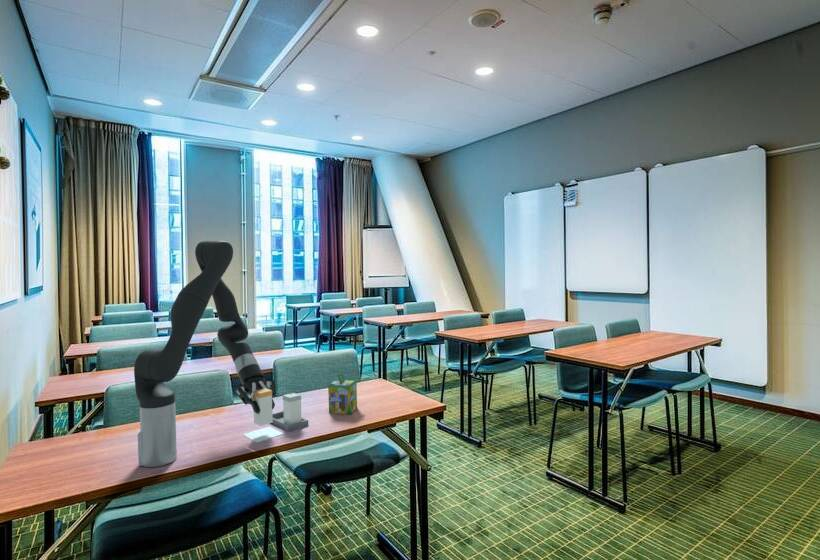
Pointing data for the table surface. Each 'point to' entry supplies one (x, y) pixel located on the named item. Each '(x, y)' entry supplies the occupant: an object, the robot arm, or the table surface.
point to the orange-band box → (263, 406)
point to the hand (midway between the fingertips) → (265, 410)
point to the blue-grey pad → (263, 434)
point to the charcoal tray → (279, 421)
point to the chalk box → (342, 396)
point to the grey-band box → (292, 408)
